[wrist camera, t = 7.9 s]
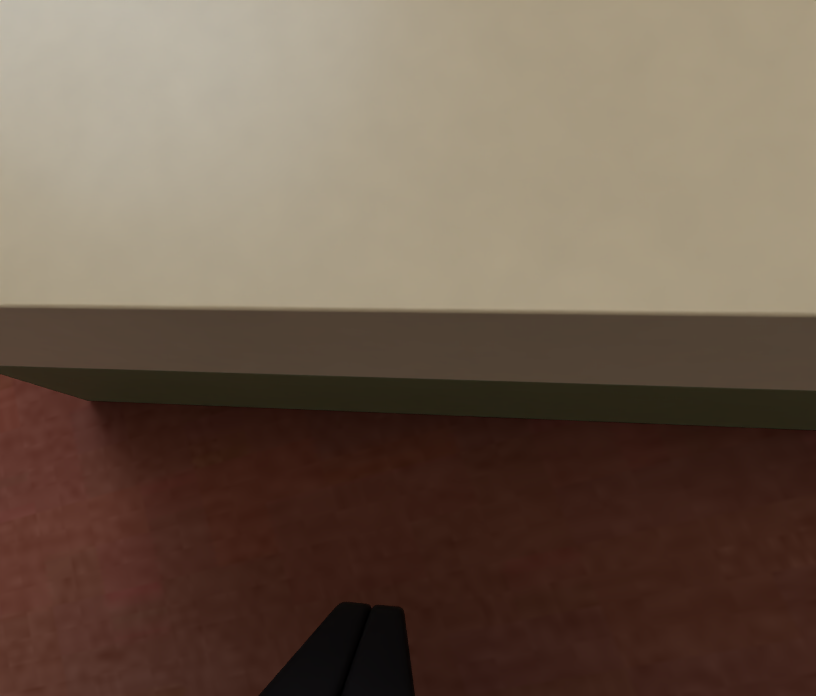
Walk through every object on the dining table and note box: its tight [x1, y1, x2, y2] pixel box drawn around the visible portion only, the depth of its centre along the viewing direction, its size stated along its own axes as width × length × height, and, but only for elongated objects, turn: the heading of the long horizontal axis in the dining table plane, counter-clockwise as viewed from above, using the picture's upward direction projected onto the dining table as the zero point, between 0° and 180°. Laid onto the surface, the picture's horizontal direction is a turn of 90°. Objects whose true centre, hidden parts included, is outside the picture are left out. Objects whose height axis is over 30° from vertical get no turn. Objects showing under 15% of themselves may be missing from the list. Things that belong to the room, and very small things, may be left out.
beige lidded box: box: [0, 0, 816, 430], centre depth 15 cm, size 16×20×8 cm
